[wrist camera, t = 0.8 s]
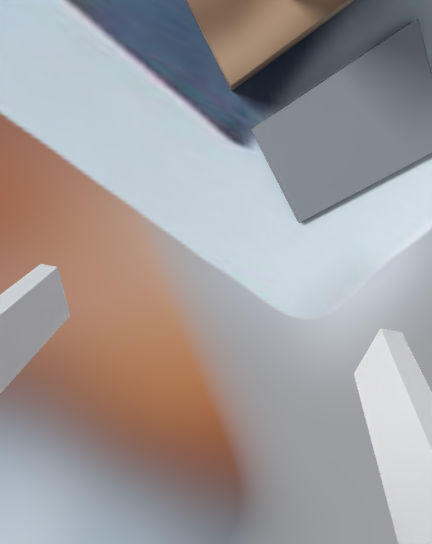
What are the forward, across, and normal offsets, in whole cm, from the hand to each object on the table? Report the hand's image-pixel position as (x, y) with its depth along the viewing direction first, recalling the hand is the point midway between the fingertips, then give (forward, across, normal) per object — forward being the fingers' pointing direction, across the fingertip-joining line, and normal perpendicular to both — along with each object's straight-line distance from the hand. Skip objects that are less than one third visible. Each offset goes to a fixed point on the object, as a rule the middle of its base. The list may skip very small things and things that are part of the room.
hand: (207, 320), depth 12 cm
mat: (+21, +8, +5) cm, 23 cm away
